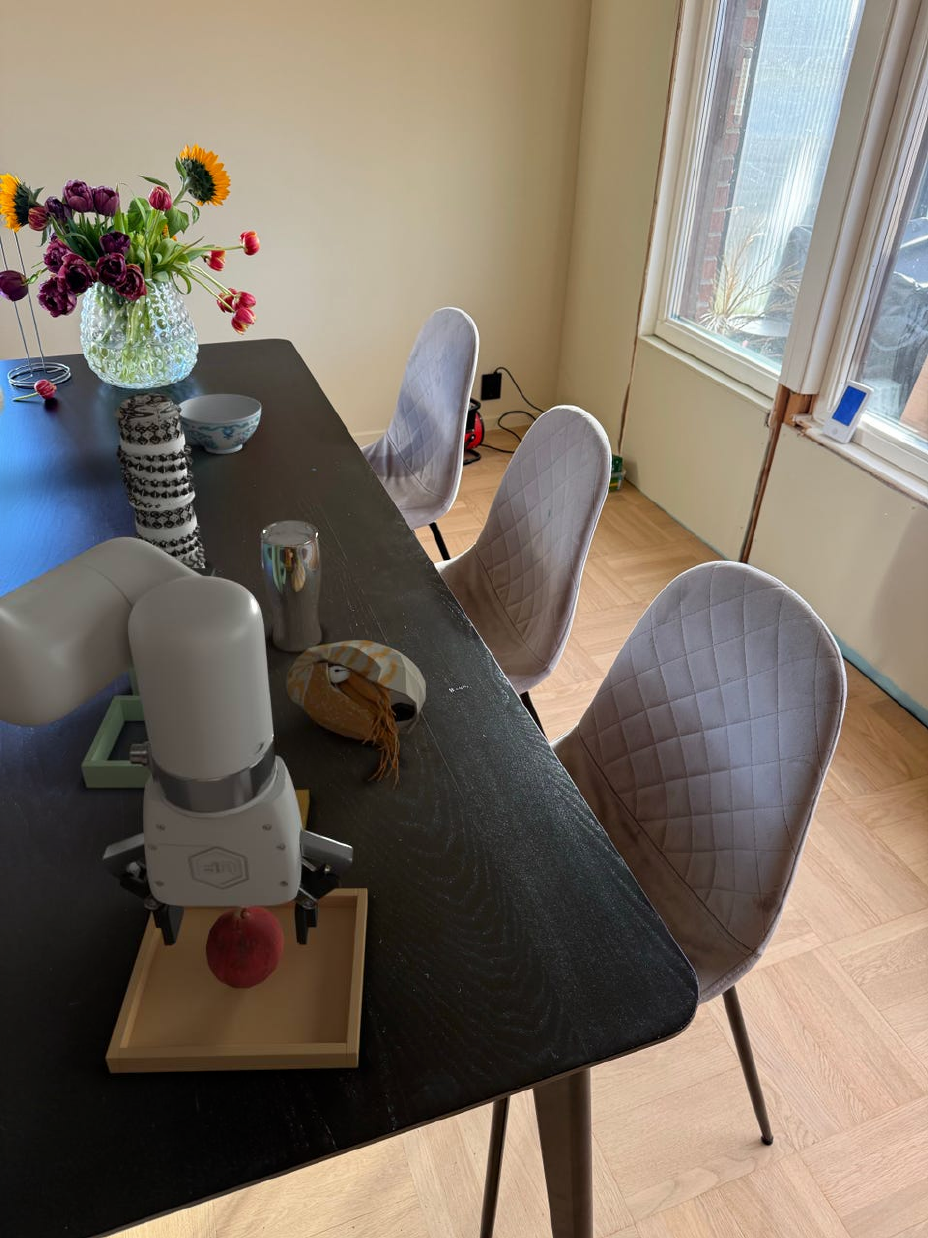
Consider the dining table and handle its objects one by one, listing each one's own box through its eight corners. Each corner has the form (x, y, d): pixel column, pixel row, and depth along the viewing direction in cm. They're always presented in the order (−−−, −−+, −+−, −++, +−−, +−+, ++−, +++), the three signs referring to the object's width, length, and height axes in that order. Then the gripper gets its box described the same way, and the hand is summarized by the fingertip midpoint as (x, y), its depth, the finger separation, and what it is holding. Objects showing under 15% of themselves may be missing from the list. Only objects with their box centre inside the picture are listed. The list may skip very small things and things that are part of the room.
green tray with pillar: (86, 788, 84) (52, 664, 76) (136, 680, 99) (112, 566, 91) (200, 788, 85) (179, 665, 77) (233, 680, 100) (218, 567, 92)
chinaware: (167, 444, 159) (160, 404, 155) (238, 427, 168) (234, 388, 164) (207, 469, 150) (201, 427, 146) (280, 450, 159) (277, 410, 155)
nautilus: (450, 794, 87) (301, 819, 84) (413, 661, 103) (287, 679, 101) (450, 738, 82) (291, 763, 79) (410, 608, 98) (279, 625, 96)
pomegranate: (283, 1007, 65) (274, 941, 61) (206, 1011, 65) (192, 945, 60) (289, 942, 70) (282, 876, 66) (218, 945, 70) (206, 879, 65)
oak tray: (110, 1074, 61) (105, 1058, 60) (161, 905, 73) (157, 890, 72) (357, 1068, 62) (356, 1053, 61) (367, 903, 74) (367, 888, 73)
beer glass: (324, 622, 111) (318, 518, 103) (326, 652, 105) (320, 545, 97) (269, 625, 110) (259, 520, 102) (268, 656, 104) (257, 548, 96)
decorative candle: (136, 592, 115) (101, 413, 102) (143, 559, 123) (111, 388, 109) (206, 587, 117) (181, 411, 104) (209, 555, 125) (186, 386, 111)
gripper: (57, 802, 51) (107, 974, 61) (346, 803, 53) (351, 972, 62) (96, 721, 58) (136, 888, 67) (354, 724, 59) (358, 888, 68)
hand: (239, 929), depth 64 cm, fingers open, 9 cm apart
